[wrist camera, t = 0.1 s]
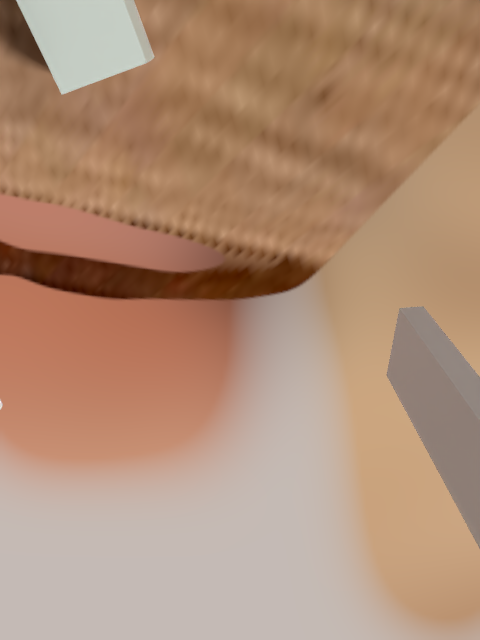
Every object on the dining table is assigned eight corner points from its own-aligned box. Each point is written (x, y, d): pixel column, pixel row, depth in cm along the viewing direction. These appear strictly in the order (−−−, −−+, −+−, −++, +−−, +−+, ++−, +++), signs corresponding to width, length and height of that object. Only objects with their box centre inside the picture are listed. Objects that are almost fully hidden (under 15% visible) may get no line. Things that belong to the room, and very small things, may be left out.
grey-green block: (39, -8, 31) (9, -15, 26) (119, -40, 30) (103, -53, 25) (81, 84, 34) (61, 94, 29) (154, 57, 34) (146, 62, 29)
